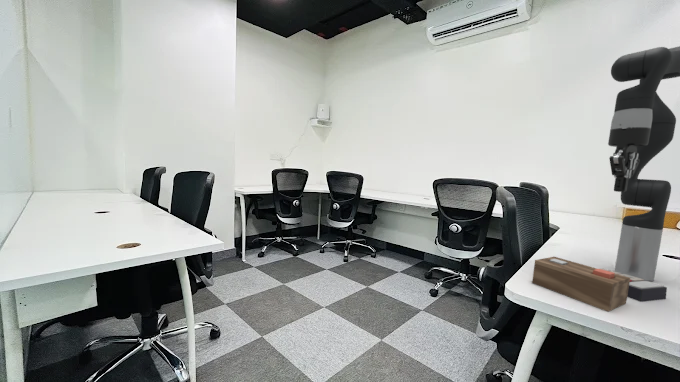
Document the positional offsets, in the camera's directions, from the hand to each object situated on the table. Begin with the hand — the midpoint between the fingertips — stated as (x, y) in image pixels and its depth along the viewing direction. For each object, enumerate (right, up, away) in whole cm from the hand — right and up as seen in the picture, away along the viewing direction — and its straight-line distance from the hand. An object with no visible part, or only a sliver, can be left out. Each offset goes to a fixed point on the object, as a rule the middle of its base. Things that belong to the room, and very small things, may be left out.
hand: (619, 191), depth 74 cm
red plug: (-9, -28, -3) cm, 29 cm away
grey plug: (-14, -27, +5) cm, 31 cm away
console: (-11, -28, +1) cm, 31 cm away
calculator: (+7, -30, +7) cm, 31 cm away
